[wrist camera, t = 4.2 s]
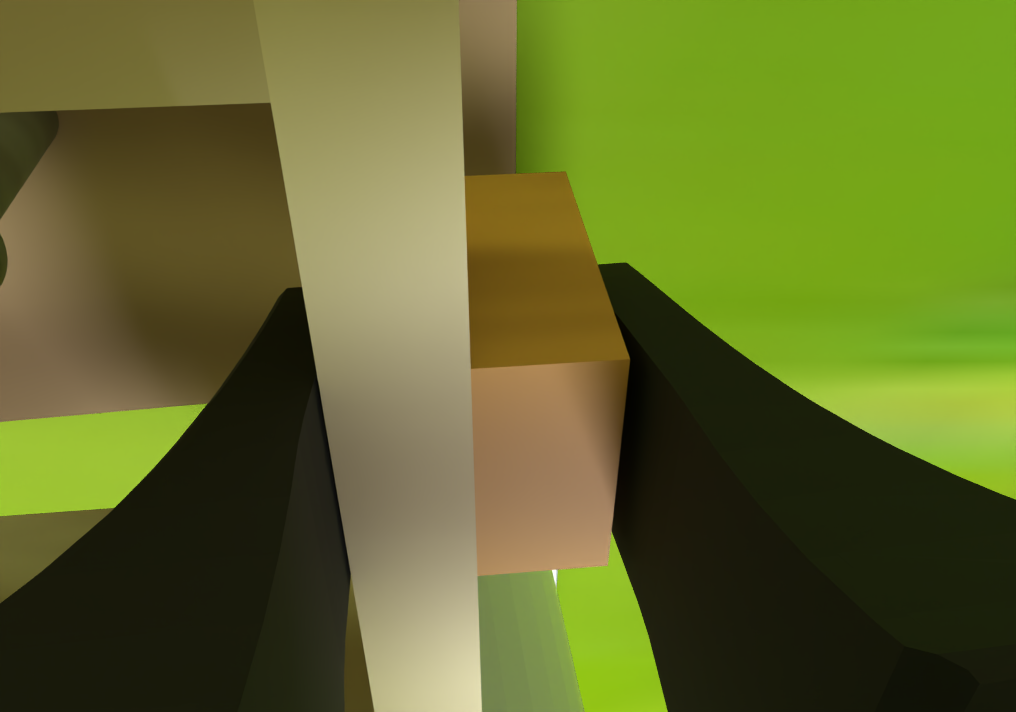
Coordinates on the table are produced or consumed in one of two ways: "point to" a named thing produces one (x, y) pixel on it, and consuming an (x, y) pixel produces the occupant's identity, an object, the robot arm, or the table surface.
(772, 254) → the table surface
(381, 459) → the cream square frame
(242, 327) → the stake board
